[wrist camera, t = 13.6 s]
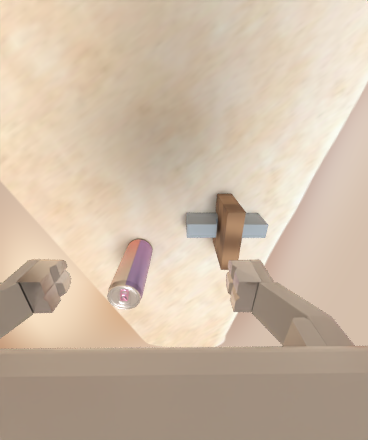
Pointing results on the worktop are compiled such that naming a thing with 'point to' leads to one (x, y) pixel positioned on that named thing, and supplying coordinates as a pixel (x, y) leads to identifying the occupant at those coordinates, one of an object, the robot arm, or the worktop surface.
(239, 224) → the wooden bridge block
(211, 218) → the notched grey block
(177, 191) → the worktop surface
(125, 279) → the beverage can
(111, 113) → the worktop surface
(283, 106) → the worktop surface
